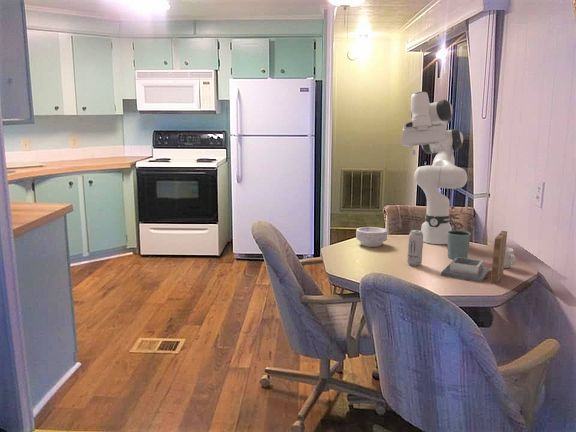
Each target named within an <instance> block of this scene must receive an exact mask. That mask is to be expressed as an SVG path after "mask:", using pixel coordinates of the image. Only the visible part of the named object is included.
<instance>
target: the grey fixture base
mask: <svg viewBox="0 0 576 432" xmlns="http://www.w3.org/2000/svg"><path fill="white" fill-rule="evenodd" d="M484 263H485V261H484V260H482V259H481V260H480V259H476V258H475V259H474V258H469V257H467V258H462V257H456V258H455V259H454V260H451V262H449V264H448V265H447V266H446V267H445V268H444V269H443V270H442V271H441V273H440V276H441V277H447V278H453V279H460V280H465V281H470V282H477V283H483V282H484V281H485V280H486V278H487V277H488V276H489V274H490V273H491V272H492V267H488V266H484Z"/></svg>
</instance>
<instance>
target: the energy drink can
mask: <svg viewBox="0 0 576 432" xmlns="http://www.w3.org/2000/svg"><path fill="white" fill-rule="evenodd" d="M423 245H424V242H423V234H422V231H421V230H420V229H419V230H418V229H411V230H410V232H409V234H408V246H407V259H406V262H407V265H408V266H412V267H420V265H421V264H422V260H423V259H422V258H423V247H424V246H423Z"/></svg>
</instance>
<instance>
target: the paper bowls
mask: <svg viewBox="0 0 576 432" xmlns="http://www.w3.org/2000/svg"><path fill="white" fill-rule="evenodd" d="M355 236H356V237H355V238H356V240H358V241H359V243H360V245H362V246H364V247H367V248H376V247H377V248H378V247H380V246H382V245H383V244H384V242H386V241H387V240H388V230H387V229H385V228H383V227H375V226H362V227H358V228H356V231H355Z"/></svg>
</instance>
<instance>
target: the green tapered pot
mask: <svg viewBox="0 0 576 432" xmlns="http://www.w3.org/2000/svg"><path fill="white" fill-rule="evenodd" d="M471 235H472V233H471V232H470V231H466V230H456V229H455V230H454V229H453V230H451V231H448V232H447V238H448V244H447V258H448V259H450V260H451V261H453V260H454V259H455V258H456V257H462V258H469V257H468V256H469V247H470V241H471Z"/></svg>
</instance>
